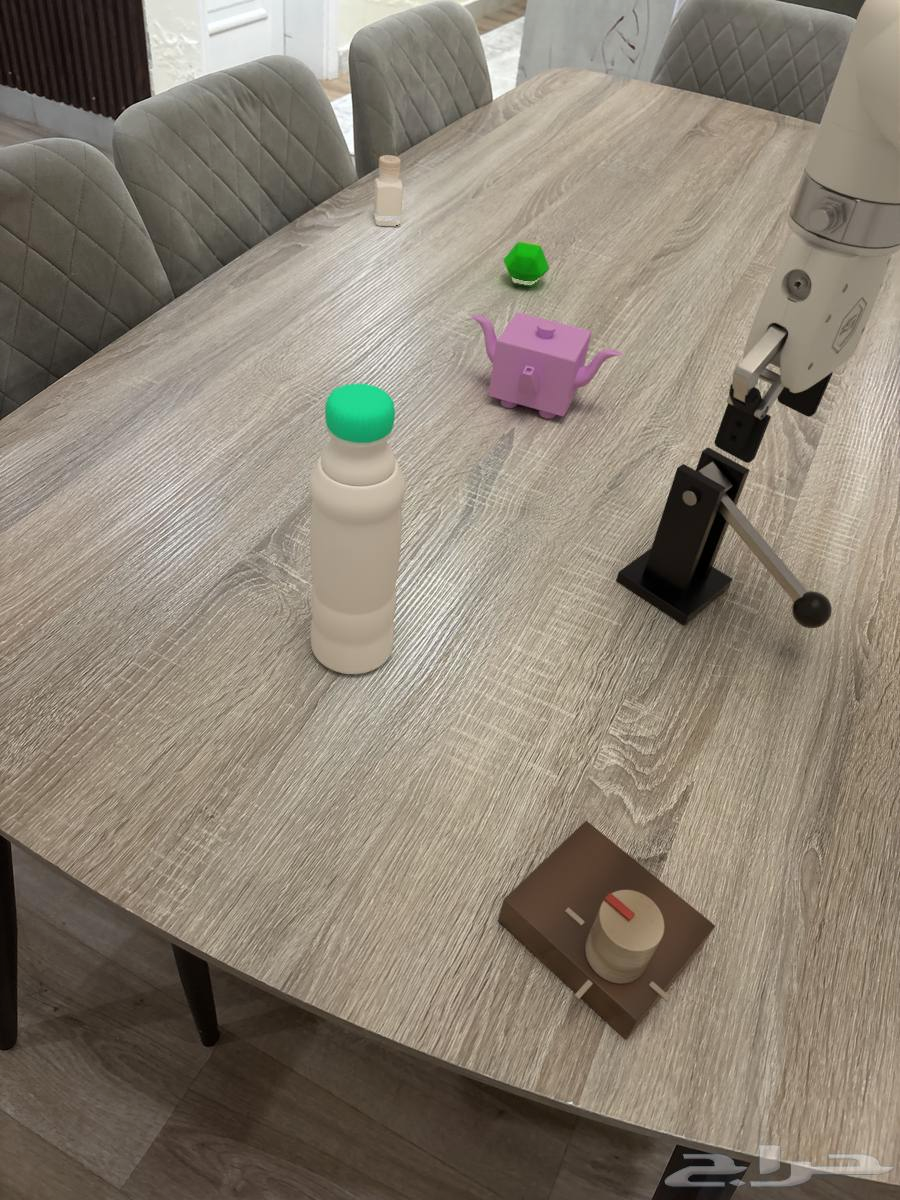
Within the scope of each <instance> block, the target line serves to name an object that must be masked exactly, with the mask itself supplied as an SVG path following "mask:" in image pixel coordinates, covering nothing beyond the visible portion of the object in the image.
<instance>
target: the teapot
mask: <svg viewBox="0 0 900 1200" xmlns="http://www.w3.org/2000/svg"><path fill="white" fill-rule="evenodd" d="M470 316H471V318H472V319H474V320H475V321H476V322H477V323H478V324H479V325H480V327H481V329H482V332H483V338H484V345H485V351H486V354H487V355H486V356H487V357H488V359H489V361H490V362H491V364H492V368H491V375H490V382H489V383H490V384H489V387H488V388H489V389H488V394H487V395H488V396H489V397H492V398H495V399H499V400H500V405H501V406H503V407H504V408H507V409H513V408H516V407H517V406H518V405H520V406H524V407H527V408H531V409H534V410H538V414H539V416H540V417H541V418H543V419H548V420H549V419H550V420H551V419H554V418H555V417H556V416H560V417H565V415H566V413H567V412H568V410H569V407H570V406H571V403H572V402H573V399H574V398H575V396H576V394H577V392H578V390H579V389H580V388H583V387H586V386H587V385H588V384H590V383H591V381H592V380H594V378H595V377H596V375H597V374H598V371H599V370H600V369H601V367H602V365H603V363H605V362H606V361H607V360H608V359H610V358H613V357H617V356H618V357H619V356H621V355H622V353H623V352H621V351H619V350H616V349H609V348H606V349H602V350H600V351H598V352H597V354H595V355H594V357H593V359H592V360H591V362H589V364H588V365H585V364H586V360H587V356H588V351H589V346H590V341H591V338H592V333H593V332H592V330H589V329H586V328H585V329H584V328H581V327H577V326H574V325H570V324H566V323H562V322H559V321H557V320H551V319H546V318H543V317H538V316H534V315H531V314H530V315H529V314H526V313H522V312H519V311H516V312H515V313H514V315H513V317H512V318H511V319H510V321H509V323H508V324H507V326H506V327H505V329H504V330H503V331H502V333H501V334H500V335H499V336H498V338H497V336H496V335H497V334H496V332H495V327H494V325H493V323H492V322H491V321H490V319H489V318H488V317H485V316H484V315H481V314H477V313H471V314H470Z"/></svg>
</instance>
